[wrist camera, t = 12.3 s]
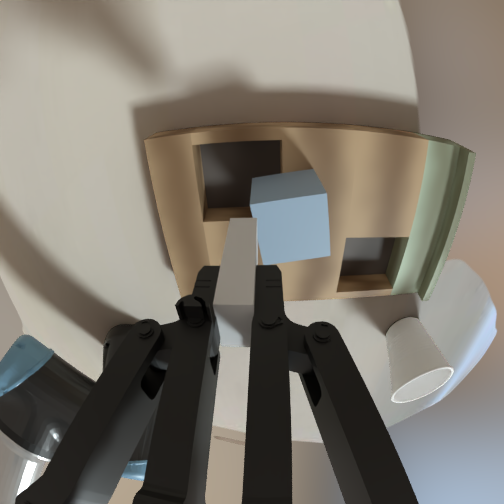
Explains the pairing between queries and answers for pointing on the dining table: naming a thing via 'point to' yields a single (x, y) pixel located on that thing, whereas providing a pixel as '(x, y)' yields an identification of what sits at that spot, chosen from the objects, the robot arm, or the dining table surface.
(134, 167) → the dining table surface
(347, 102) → the dining table surface
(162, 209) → the board
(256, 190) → the block
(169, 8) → the dining table surface
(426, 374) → the cup
